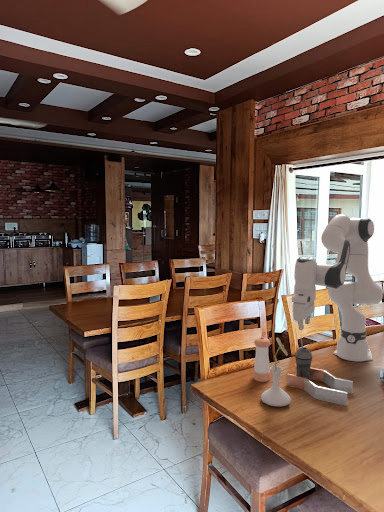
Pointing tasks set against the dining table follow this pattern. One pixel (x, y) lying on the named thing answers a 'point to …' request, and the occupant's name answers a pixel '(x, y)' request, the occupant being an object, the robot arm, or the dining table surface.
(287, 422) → the dining table surface
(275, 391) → the flower in vase
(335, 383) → the rail track
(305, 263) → the robot arm
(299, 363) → the beverage cup
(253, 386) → the dining table surface
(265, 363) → the pepper shaker
